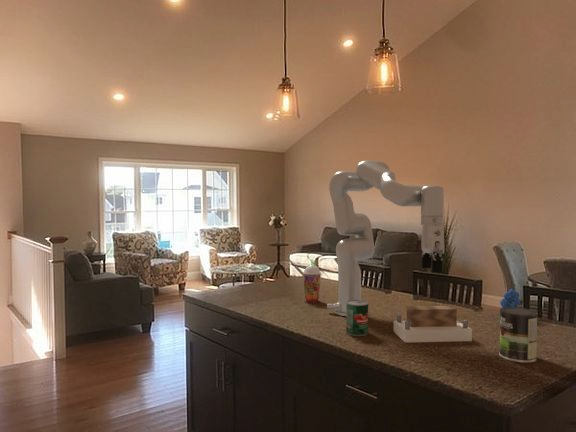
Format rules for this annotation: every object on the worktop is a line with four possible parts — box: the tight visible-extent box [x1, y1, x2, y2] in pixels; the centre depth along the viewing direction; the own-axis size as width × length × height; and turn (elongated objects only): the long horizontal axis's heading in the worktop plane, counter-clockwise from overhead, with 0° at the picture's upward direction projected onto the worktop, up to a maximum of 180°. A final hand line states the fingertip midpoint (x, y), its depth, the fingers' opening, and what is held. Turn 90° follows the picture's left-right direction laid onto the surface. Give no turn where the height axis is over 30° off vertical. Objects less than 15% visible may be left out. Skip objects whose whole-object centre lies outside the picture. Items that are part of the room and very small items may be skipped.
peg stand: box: [393, 314, 473, 343], centre depth 161 cm, size 23×13×6 cm, turn 94°
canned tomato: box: [345, 299, 369, 337], centre depth 165 cm, size 8×8×11 cm
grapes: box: [499, 288, 521, 311], centre depth 186 cm, size 12×7×12 cm, turn 121°
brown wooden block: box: [406, 305, 458, 327], centre depth 161 cm, size 16×5×6 cm, turn 93°
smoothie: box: [302, 258, 322, 303], centre depth 219 cm, size 8×8×20 cm
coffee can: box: [498, 306, 539, 364], centre depth 139 cm, size 10×10×14 cm
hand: (431, 270), depth 161 cm, fingers open, 9 cm apart
